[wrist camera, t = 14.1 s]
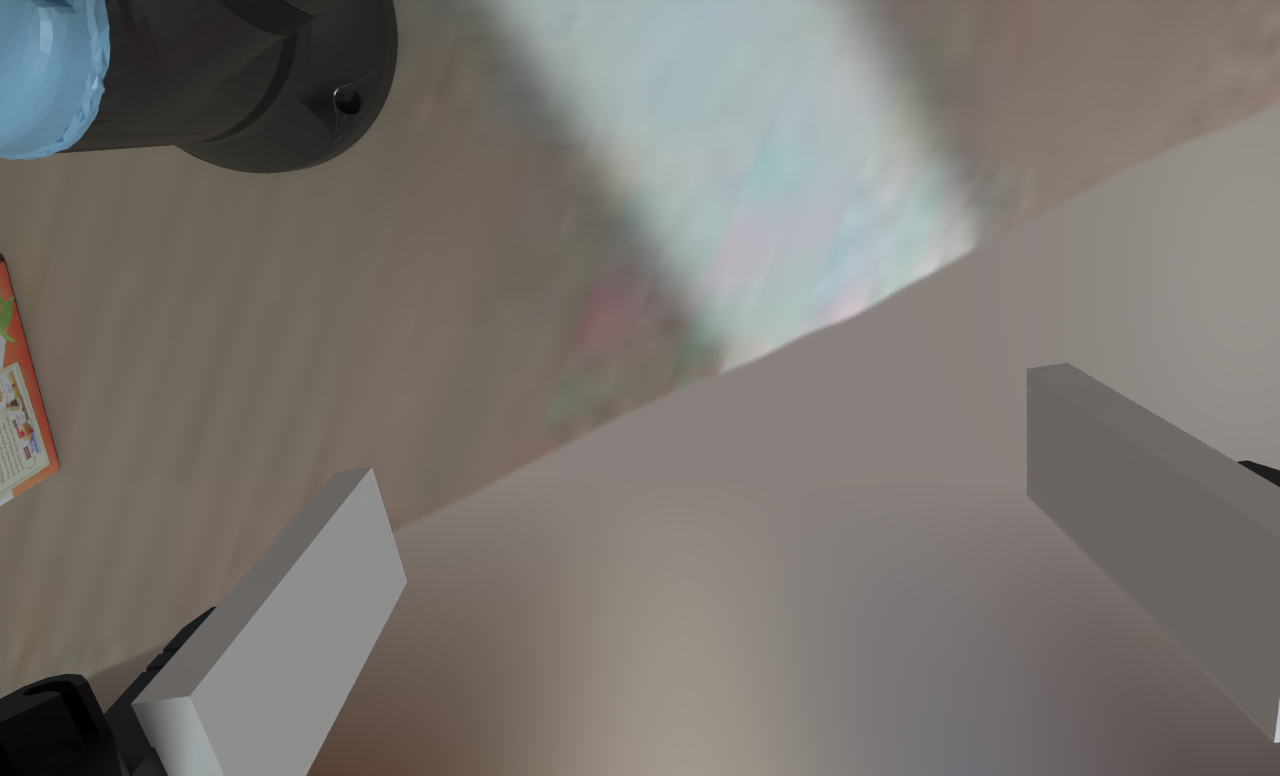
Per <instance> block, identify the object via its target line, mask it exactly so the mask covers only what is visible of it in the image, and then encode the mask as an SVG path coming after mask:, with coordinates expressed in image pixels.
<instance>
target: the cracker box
mask: <svg viewBox="0 0 1280 776" xmlns="http://www.w3.org/2000/svg"><path fill="white" fill-rule="evenodd" d="M59 469H60V466H59V462H58V458H57V455H56V451H55V447H54V444H53V440H52V436H51V433H50V429H49V425H48V421H47V417H46V414H45V410H44V406H43V402H42V398H41V395H40V392H39V388H38V384H37V381H36V376H35V372H34V369H33V365H32V361H31V358H30V354H29V351H28V347H27V343H26V339H25V335H24V332H23V328H22V324H21V321H20V317H19V313H18V309H17V305H16V302H15V298H14V294H13V290H12V287H11V283H10V279H9V275H8V271H7V268H6V265H5V262H4V261H0V506H1V505H2V504H4V503H6V502H7V501H9V500H11V499H12V498H14V497H16V496H17V495H19V494H21V493H22V492H24V491H25V490H27V489H29V488H31V487H32V486H34V485H36V484H37V483H39V482H41V481H42V480H44V479H45V478H47V477H49V476H50V475H52V474H53V473H55V472H56V471H58V470H59Z"/></svg>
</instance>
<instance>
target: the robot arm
mask: <svg viewBox="0 0 1280 776" xmlns="http://www.w3.org/2000/svg"><path fill="white" fill-rule="evenodd" d="M397 48H398V35H397V22H396V15H395V10H394V5H393V0H0V158H7V159H13V160H16V159H36V157H48V156H50V155H52V154H54V153H69V152H83V151H97V150H112V149H126V148H140V147H155V146H169V145H174V146H176V147H178V148H180V149H182V150H184V151H185V152H187V153H189V154H191V155H193V156H195V157H197V158H199V159H201V160H203V161H206V162H208V163H211V164H214V165H217V166H220V167H223V168H227V169H232V170H237V171H242V172H250V173H279V172H286V171H293V170H300V169H305V168H309V167H312V166H316V165H319V164H321V163H324V162H326V161H329V160H331V159H332V158H334V157H336V156H338V155H340V154H341V153H343V152H344V151H346V150H347V149H348V148H350V147H351V146H352V145H353V144H355V143H356V142H357V141H358V140H359V139H360V138H361V137H362V136H363V135H364V134H365V133H366V132H367V130H368V129H369V128H370V127H371V125H372V124H373V122H374V121H375V120H376V118H377V117H378V115H379V113H380V111H381V109H382V108H383V105H384V103H385V101H386V99H387V96H388V94H389V91H390V88H391V85H392V81H393V77H394V73H395V68H396V60H397ZM1027 496H1028V497H1029V498H1030V499H1031V500H1032V501H1033V502H1034V503H1035V504H1036V505H1037V506H1038V507H1039V508H1040V509H1041V510H1042V511H1043V512H1044V513H1045V514H1046V515H1047V516H1048V517H1049V518H1050V519H1051V520H1052V521H1053V522H1054V523H1055V524H1056V525H1057V526H1058V527H1059V528H1060V529H1061V530H1062V531H1063V532H1064V533H1065V534H1066V535H1067V536H1068V537H1069V538H1070V539H1071V540H1072V541H1073V542H1074V543H1075V544H1076V545H1077V546H1078V547H1079V548H1080V549H1081V550H1082V551H1083V552H1084V553H1085V554H1086V555H1087V556H1088V557H1089V558H1090V559H1091V560H1092V561H1093V562H1094V563H1095V564H1096V565H1097V566H1098V567H1099V568H1100V569H1101V570H1102V571H1103V572H1104V573H1105V574H1106V575H1107V576H1108V577H1109V578H1110V579H1111V580H1112V581H1113V582H1114V583H1115V584H1116V585H1117V586H1118V587H1119V588H1120V589H1121V590H1122V591H1123V592H1124V593H1125V594H1126V595H1127V596H1128V597H1129V598H1130V599H1131V600H1132V601H1133V602H1134V603H1135V604H1136V605H1137V606H1138V607H1139V608H1140V609H1141V610H1142V611H1143V612H1144V613H1145V614H1146V615H1147V616H1148V617H1149V618H1150V619H1151V620H1152V621H1153V622H1154V623H1155V624H1156V625H1157V626H1158V627H1159V628H1160V629H1161V630H1162V631H1163V632H1164V633H1165V634H1166V635H1167V636H1168V637H1169V638H1170V639H1171V640H1172V641H1173V642H1174V643H1175V644H1176V645H1177V646H1178V647H1179V648H1180V649H1181V650H1182V651H1183V652H1184V653H1185V654H1186V655H1187V656H1188V657H1189V658H1190V659H1191V660H1192V661H1193V662H1194V663H1195V664H1196V665H1197V666H1198V667H1199V668H1200V669H1201V670H1202V671H1203V672H1204V673H1205V674H1206V675H1207V676H1208V677H1209V678H1210V679H1211V680H1212V681H1213V682H1214V683H1215V684H1216V685H1217V686H1218V687H1219V688H1220V689H1221V690H1222V691H1223V692H1224V693H1225V694H1226V695H1227V696H1228V697H1229V698H1230V699H1231V700H1232V701H1233V702H1234V703H1235V704H1236V705H1237V706H1238V707H1239V708H1240V709H1241V710H1242V711H1243V712H1244V713H1245V714H1246V715H1247V716H1248V717H1249V718H1250V719H1251V720H1252V721H1253V722H1254V723H1255V724H1256V725H1257V726H1258V727H1259V728H1260V729H1261V730H1262V731H1263V732H1264V733H1265V734H1266V735H1267V736H1268V737H1269V738H1270V739H1271V740H1272V741H1273V742H1274V743H1275V742H1280V471H1279V470H1276V469H1273V468H1270V467H1267V466H1264V465H1260V464H1257V463H1254V462H1251V461H1240V462H1236V461H1234V460H1232V459H1230V458H1229V457H1227V456H1225V455H1224V454H1222V453H1220V452H1219V451H1217V450H1215V449H1213V448H1212V447H1210V446H1208V445H1207V444H1205V443H1203V442H1202V441H1200V440H1198V439H1196V438H1195V437H1193V436H1191V435H1190V434H1188V433H1186V432H1184V431H1183V430H1181V429H1179V428H1178V427H1176V426H1174V425H1172V424H1171V423H1169V422H1167V421H1166V420H1164V419H1162V418H1161V417H1159V416H1157V415H1155V414H1154V413H1152V412H1150V411H1149V410H1147V409H1145V408H1144V407H1142V406H1140V405H1138V404H1137V403H1135V402H1133V401H1132V400H1130V399H1128V398H1127V397H1125V396H1123V395H1121V394H1120V393H1118V392H1116V391H1115V390H1113V389H1111V388H1109V387H1108V386H1106V385H1104V384H1103V383H1101V382H1099V381H1098V380H1096V379H1094V378H1092V377H1091V376H1089V375H1087V374H1086V373H1084V372H1082V371H1081V370H1079V369H1077V368H1075V367H1074V366H1072V365H1070V364H1069V363H1063V364H1057V365H1050V366H1043V367H1037V368H1030V369H1027ZM406 583H407V580H406V577H405V574H404V570H403V567H402V564H401V561H400V557H399V554H398V551H397V547H396V544H395V541H394V538H393V534H392V531H391V528H390V525H389V521H388V518H387V515H386V512H385V508H384V505H383V502H382V499H381V495H380V492H379V489H378V485H377V482H376V479H375V476H374V472H373V469H372V467H368V468H361V469H355V470H348V471H341V472H336V473H335V474H334V475H333V476H332V477H331V478H330V479H329V481H328V482H327V483H326V484H325V485H324V486H323V487H322V488H321V490H320V491H319V492H318V493H317V494H316V495H315V496H314V497H313V499H312V500H311V501H310V502H309V503H308V504H307V505H306V507H305V508H304V509H303V510H302V511H301V512H300V513H299V514H298V516H297V517H296V518H295V519H294V520H293V521H292V522H291V523H290V525H289V526H288V527H287V528H286V529H285V530H284V531H283V533H282V534H281V535H280V536H279V537H278V538H277V539H276V540H275V542H274V543H273V544H272V545H271V546H270V547H269V548H268V550H267V551H266V552H265V553H264V554H263V555H262V556H261V557H260V559H259V560H258V561H257V562H256V563H255V564H254V565H253V566H252V568H251V569H250V570H249V571H248V572H247V573H246V574H245V576H244V577H243V578H242V579H241V580H240V581H239V582H238V583H237V585H236V586H235V587H234V588H233V589H232V590H231V591H230V592H229V594H228V595H227V596H226V597H225V598H224V599H223V600H222V602H221V603H220V604H219V605H218V606H217V607H212V608H210V609H209V610H207V611H206V612H205V613H203V614H202V615H200V616H199V617H198V618H196V619H195V620H193V621H192V622H191V623H189V624H188V625H186V626H185V627H183V628H182V630H181V631H180V632H179V633H178V634H177V635H176V636H175V637H174V638H173V639H172V640H171V642H170V643H169V644H168V645H167V646H166V647H165V648H164V649H163V654H159V655H158V656H157V657H156V658H155V659H154V660H153V661H152V662H151V663H150V665H149V666H148V667H147V671H146V672H143V673H141V674H140V675H139V677H138V678H137V679H136V680H135V681H134V682H133V683H132V684H131V685H130V686H129V688H128V689H127V690H126V691H125V692H124V693H123V694H122V695H121V696H120V697H119V698H118V700H117V701H116V702H115V703H114V704H113V705H112V706H111V707H110V708H109V709H108V711H107V712H106V713H105V714H103V712H102V710H101V708H100V706H99V704H98V702H97V700H96V698H95V696H94V694H93V691H92V690H91V687H90V685H89V683H88V681H87V680H86V679H85V678H84V677H83V676H82V675H76V674H63V675H58V676H53V677H48V678H45V679H43V680H40V681H37V682H35V683H32V684H29V685H27V686H24V687H22V688H20V689H18V690H16V691H14V692H13V693H11V694H9V695H7V696H5V697H3V698H1V699H0V776H306V774H307V773H308V771H309V769H310V767H311V765H312V763H313V761H314V759H315V757H316V755H317V753H318V751H319V750H320V748H321V746H322V744H323V742H324V740H325V738H326V736H327V734H328V732H329V730H330V729H331V726H332V724H333V723H334V721H335V719H336V717H337V715H338V713H339V711H340V709H341V707H342V705H343V704H344V702H345V700H346V698H347V696H348V694H349V692H350V690H351V688H352V686H353V685H354V683H355V681H356V679H357V677H358V675H359V673H360V671H361V669H362V667H363V665H364V663H365V661H366V659H367V658H368V656H369V654H370V652H371V650H372V648H373V646H374V644H375V642H376V640H377V638H378V637H379V635H380V633H381V631H382V629H383V627H384V625H385V623H386V621H387V619H388V617H389V616H390V614H391V612H392V610H393V608H394V606H395V604H396V602H397V600H398V598H399V596H400V594H401V593H402V591H403V589H404V587H405V585H406Z"/></svg>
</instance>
